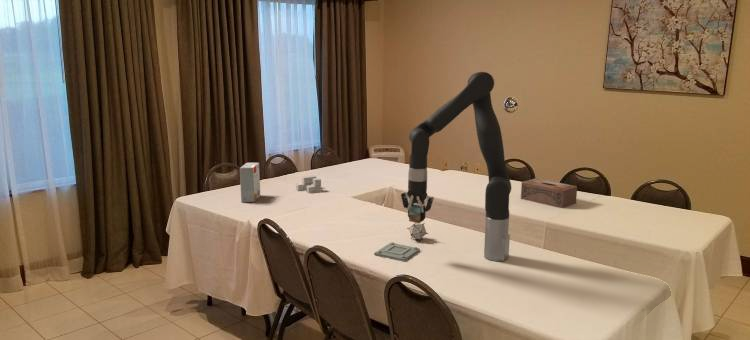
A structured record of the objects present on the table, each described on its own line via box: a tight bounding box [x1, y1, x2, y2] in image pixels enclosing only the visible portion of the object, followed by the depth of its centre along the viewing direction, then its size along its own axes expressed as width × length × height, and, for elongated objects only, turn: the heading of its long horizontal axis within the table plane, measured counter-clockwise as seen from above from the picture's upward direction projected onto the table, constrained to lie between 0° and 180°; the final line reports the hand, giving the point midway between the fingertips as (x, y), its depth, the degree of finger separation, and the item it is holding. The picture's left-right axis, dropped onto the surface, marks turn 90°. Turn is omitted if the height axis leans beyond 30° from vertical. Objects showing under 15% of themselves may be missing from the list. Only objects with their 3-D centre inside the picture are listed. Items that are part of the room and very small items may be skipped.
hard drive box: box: [239, 162, 261, 203], centre depth 306 cm, size 16×8×20 cm, turn 179°
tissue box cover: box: [520, 177, 578, 209], centre depth 300 cm, size 26×14×10 cm, turn 41°
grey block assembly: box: [295, 174, 322, 194], centre depth 325 cm, size 12×12×8 cm
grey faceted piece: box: [406, 222, 429, 242], centre depth 240 cm, size 9×8×10 cm
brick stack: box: [408, 203, 425, 224], centre depth 217 cm, size 4×4×6 cm
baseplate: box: [373, 241, 421, 262], centre depth 224 cm, size 14×14×2 cm
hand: (416, 219), depth 217 cm, fingers closed on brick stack, 4 cm apart
